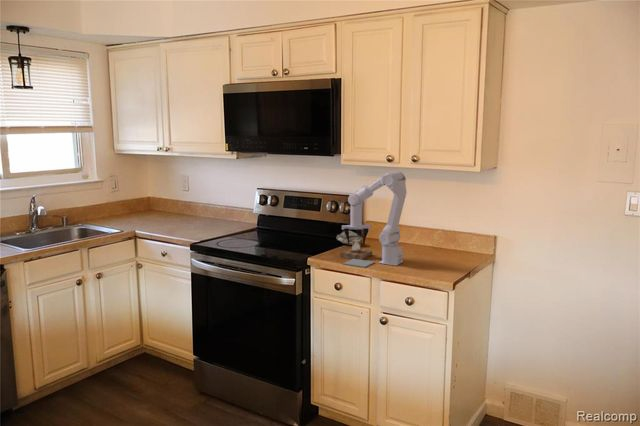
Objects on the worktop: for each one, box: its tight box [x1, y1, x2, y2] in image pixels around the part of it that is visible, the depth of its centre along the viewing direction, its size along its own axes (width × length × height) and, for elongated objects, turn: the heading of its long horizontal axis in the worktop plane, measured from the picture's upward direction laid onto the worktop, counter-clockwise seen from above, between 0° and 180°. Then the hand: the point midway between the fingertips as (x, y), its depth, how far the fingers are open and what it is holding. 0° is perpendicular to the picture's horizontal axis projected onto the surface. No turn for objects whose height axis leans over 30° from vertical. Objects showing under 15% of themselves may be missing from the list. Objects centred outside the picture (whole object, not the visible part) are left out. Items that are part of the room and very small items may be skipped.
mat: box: [342, 259, 375, 268], centre depth 247 cm, size 12×10×1 cm
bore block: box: [339, 247, 373, 260], centre depth 261 cm, size 12×12×2 cm
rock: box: [335, 230, 363, 246], centre depth 288 cm, size 18×10×10 cm
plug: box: [351, 240, 361, 253], centre depth 261 cm, size 4×4×8 cm
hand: (356, 243), depth 260 cm, fingers open, 7 cm apart
